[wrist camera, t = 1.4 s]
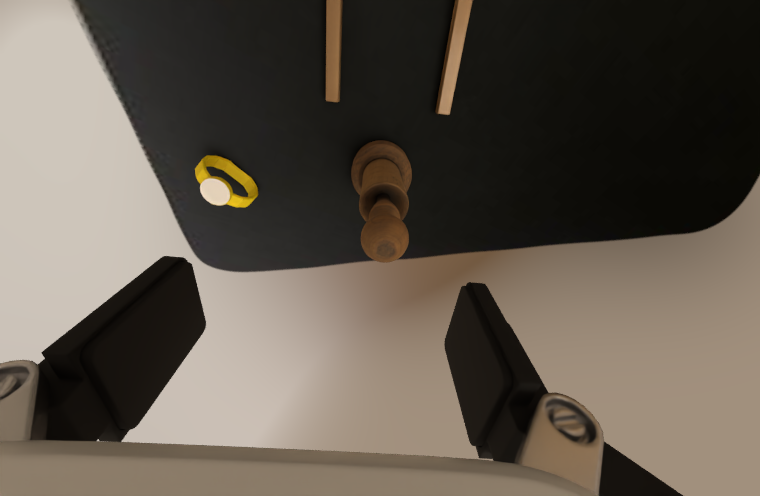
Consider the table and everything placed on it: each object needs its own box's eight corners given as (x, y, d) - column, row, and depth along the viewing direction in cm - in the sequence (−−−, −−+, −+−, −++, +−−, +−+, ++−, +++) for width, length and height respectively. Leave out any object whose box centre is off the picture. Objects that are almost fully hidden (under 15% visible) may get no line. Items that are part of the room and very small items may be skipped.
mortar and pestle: (421, 172, 33) (463, 253, 17) (380, 209, 35) (382, 310, 19) (382, 126, 30) (388, 170, 15) (340, 168, 32) (305, 246, 17)
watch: (208, 163, 32) (176, 178, 27) (222, 145, 31) (191, 157, 26) (254, 200, 34) (232, 221, 29) (268, 184, 33) (248, 203, 28)
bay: (481, -66, 23) (487, -74, 22) (446, 113, 30) (449, 114, 28) (329, -88, 22) (326, -99, 21) (327, 100, 29) (325, 101, 28)
